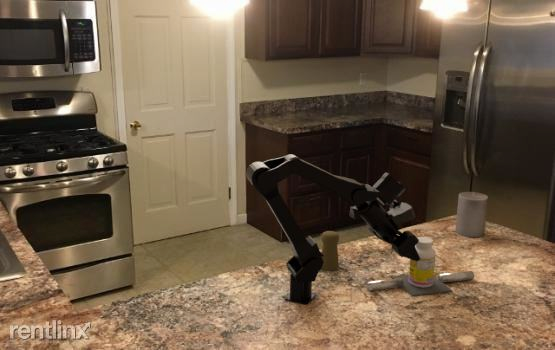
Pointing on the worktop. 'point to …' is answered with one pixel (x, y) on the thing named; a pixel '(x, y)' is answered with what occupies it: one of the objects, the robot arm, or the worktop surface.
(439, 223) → the worktop surface
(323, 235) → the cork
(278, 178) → the robot arm
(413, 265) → the supplement bottle
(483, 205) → the pillar candle
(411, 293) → the rubber pad
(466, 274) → the steel shafts
